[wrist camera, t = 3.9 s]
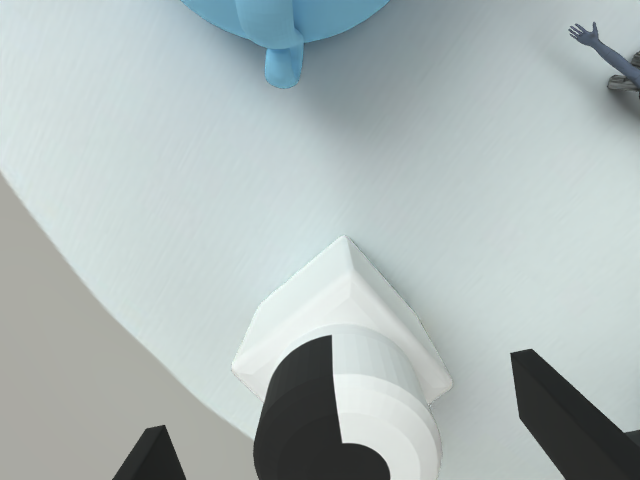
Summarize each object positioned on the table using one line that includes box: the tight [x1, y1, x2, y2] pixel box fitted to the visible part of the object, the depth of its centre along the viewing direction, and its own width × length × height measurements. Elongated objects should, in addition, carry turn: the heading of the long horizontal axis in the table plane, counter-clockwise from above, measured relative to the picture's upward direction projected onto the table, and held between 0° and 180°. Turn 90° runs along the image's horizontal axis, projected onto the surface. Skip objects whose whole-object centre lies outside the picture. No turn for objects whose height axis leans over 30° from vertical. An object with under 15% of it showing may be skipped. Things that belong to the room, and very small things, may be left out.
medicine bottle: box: [231, 235, 453, 480], centre depth 17 cm, size 7×7×12 cm
